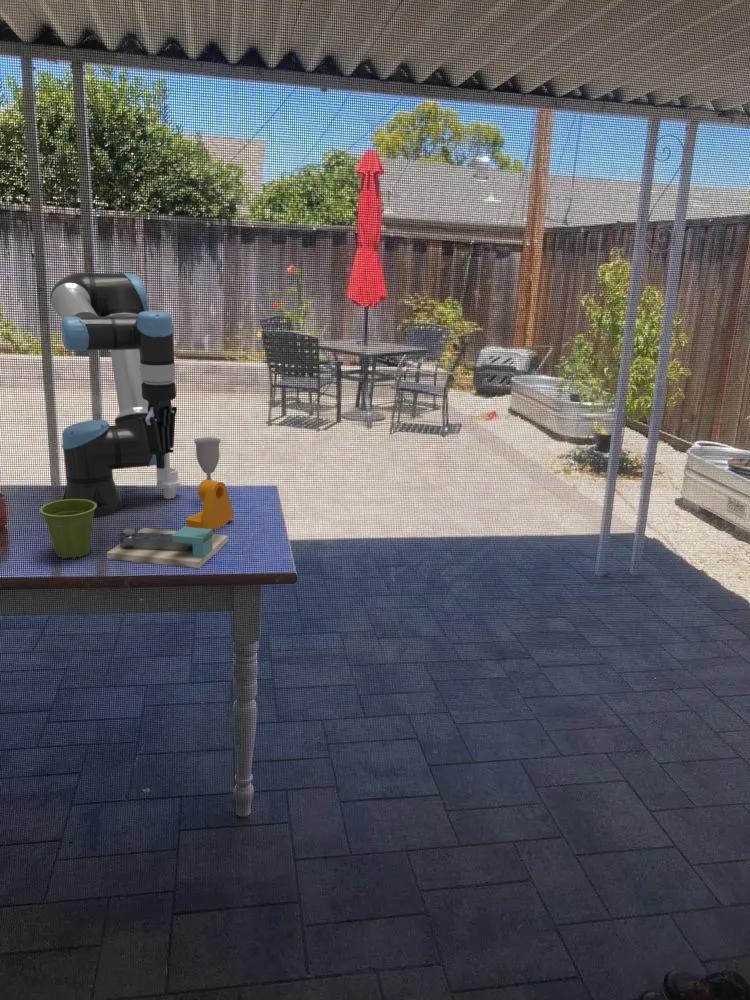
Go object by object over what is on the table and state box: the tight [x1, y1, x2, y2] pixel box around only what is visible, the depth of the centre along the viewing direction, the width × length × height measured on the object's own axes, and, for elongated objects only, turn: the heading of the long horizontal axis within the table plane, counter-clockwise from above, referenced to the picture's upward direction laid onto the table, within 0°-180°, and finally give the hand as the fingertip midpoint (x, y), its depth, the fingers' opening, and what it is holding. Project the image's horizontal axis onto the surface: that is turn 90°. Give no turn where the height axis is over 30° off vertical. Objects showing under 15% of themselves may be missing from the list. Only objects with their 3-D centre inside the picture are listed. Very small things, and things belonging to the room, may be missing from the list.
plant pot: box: [39, 499, 97, 559], centre depth 167 cm, size 12×12×11 cm
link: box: [118, 531, 193, 551], centre depth 170 cm, size 18×4×2 cm, turn 87°
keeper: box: [172, 526, 214, 558], centre depth 167 cm, size 7×6×5 cm
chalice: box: [193, 436, 222, 506], centre depth 204 cm, size 7×7×18 cm
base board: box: [106, 527, 229, 569], centre depth 172 cm, size 22×17×5 cm
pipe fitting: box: [156, 467, 182, 500], centre depth 210 cm, size 6×7×8 cm
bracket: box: [185, 479, 235, 531], centre depth 188 cm, size 11×7×12 cm, turn 155°
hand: (163, 479), depth 177 cm, fingers closed
